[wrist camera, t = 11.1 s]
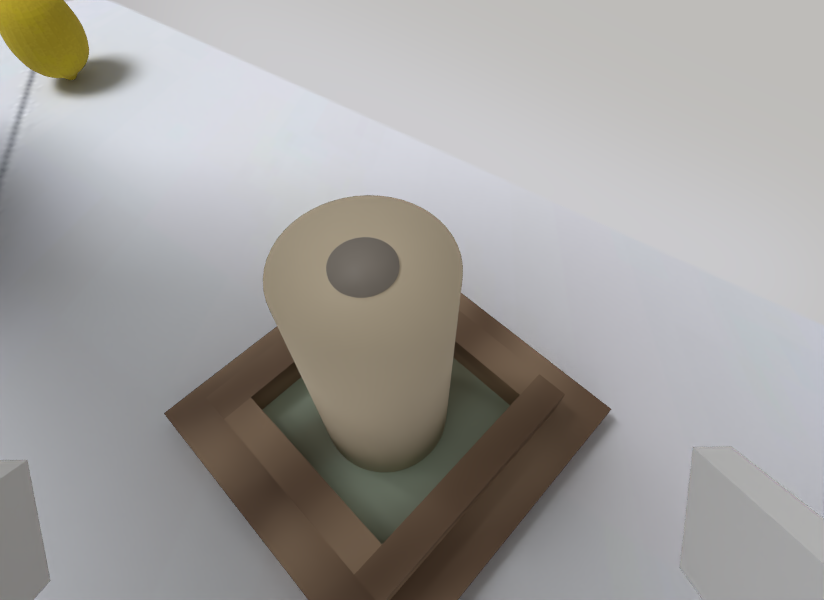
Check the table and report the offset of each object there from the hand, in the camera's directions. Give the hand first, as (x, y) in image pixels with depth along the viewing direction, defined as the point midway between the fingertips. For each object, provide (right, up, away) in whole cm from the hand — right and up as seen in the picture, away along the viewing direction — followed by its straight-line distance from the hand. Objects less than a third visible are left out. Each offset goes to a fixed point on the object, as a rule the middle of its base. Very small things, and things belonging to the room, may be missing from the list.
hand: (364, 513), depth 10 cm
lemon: (-28, +23, +33) cm, 49 cm away
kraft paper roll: (0, -1, +15) cm, 15 cm away
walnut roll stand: (0, -2, +16) cm, 17 cm away
